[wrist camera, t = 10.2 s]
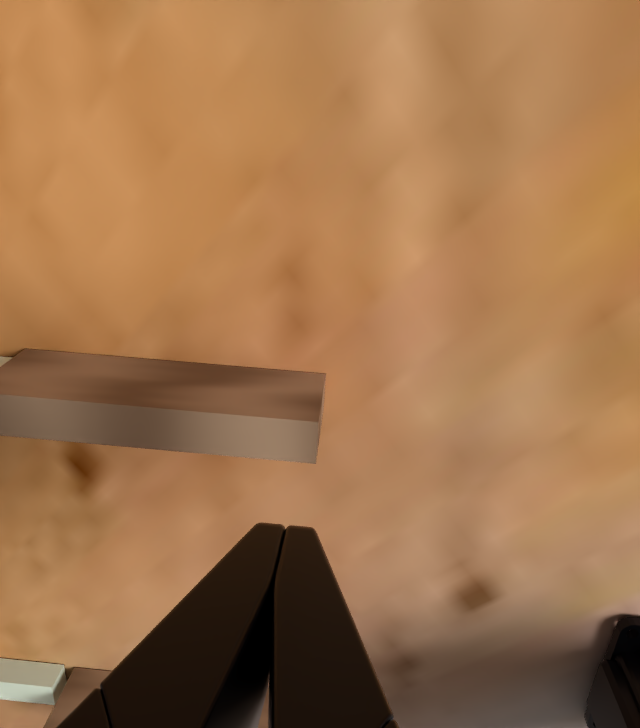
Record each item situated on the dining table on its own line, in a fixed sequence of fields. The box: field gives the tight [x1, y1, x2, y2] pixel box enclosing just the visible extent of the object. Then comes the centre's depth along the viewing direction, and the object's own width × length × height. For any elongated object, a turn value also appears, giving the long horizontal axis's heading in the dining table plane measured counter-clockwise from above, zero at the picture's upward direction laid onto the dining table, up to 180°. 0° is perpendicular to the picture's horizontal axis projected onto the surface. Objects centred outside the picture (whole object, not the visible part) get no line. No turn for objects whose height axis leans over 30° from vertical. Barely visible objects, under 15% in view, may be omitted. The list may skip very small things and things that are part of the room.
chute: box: [0, 349, 326, 728], centre depth 24 cm, size 11×18×4 cm, turn 177°
